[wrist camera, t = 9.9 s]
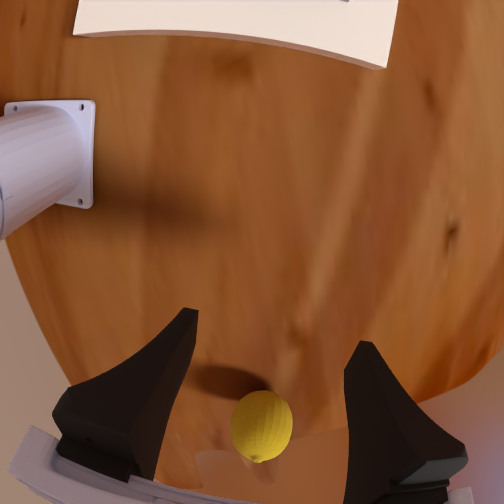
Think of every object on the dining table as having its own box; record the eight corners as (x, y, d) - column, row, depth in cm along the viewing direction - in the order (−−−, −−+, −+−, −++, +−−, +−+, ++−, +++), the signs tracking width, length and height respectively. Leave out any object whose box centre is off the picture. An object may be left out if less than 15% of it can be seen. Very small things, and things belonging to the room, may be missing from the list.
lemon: (286, 369, 28) (281, 446, 21) (298, 402, 30) (296, 471, 23) (228, 376, 29) (213, 448, 22) (247, 408, 31) (237, 473, 24)
